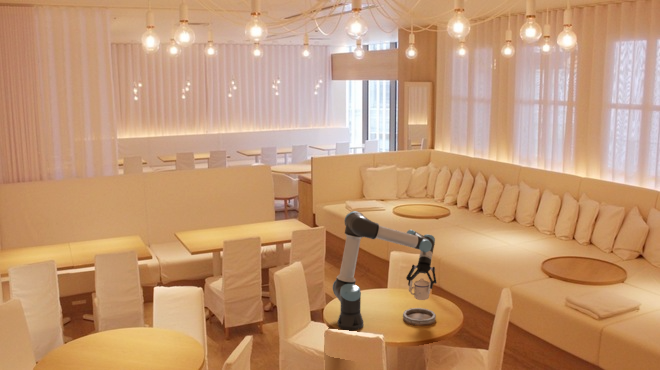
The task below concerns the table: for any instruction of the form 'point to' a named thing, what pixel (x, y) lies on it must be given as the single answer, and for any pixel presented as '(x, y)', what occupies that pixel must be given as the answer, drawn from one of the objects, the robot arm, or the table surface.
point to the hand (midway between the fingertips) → (419, 292)
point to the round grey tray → (419, 316)
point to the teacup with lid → (420, 290)
